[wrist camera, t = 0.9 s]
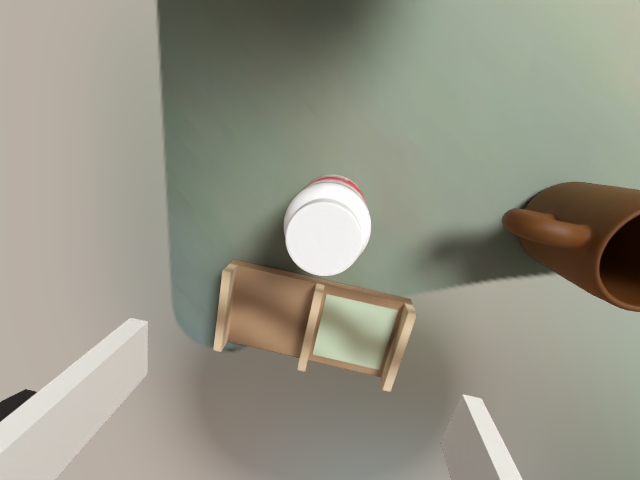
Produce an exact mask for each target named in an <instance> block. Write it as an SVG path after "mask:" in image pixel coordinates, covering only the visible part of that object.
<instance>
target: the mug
mask: <svg viewBox="0 0 640 480" xmlns="http://www.w3.org/2000/svg"><path fill="white" fill-rule="evenodd" d="M502 223H503V226H504V228H505V229H506V230H507V231H509V232H511V233H513V234H515V235H517V236H519V240H520V242H521V245H522V247H523V248H524V250H525V251H526V252H527V253H528V254H529V255H530V256H531V257H532V258H534V259H535V260H536V261H538V262H540V263H541V264H543V265H544V266H546V267H548V268H549V269H551V270H552V271H554V272H556V273H557V274H559V275H560V276H562V277H564V278H565V279H567V280H569V281H570V282H572V283H574V284H576V285H577V286H579V287H580V288H582V289H584V290H585V291H587V292H588V293H590V294H592V295H594V296H596V297H598V298H600V299H603V300H605V301H607V302H608V303H610V304H612V305H615V306H617V307H619V308H622V309H625V310H630V311H635V312H640V190H636V189H629V188H622V187H615V186H607V185H599V184H592V183H585V182H567V183H561V184H557V185H554V186H551V187H549V188H547V189H545V190H543V191H542V192H540V193H539V194H538V195H536V196H535V197H534V198H533V199H532V200H531V201H530V202H529V203H528V205H527V206H526V207H525V209H512V210H509V211H508V212H506V213H505V214H504V216H503V218H502Z"/></svg>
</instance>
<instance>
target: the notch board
mask: <svg viewBox="0 0 640 480" xmlns="http://www.w3.org/2000/svg"><path fill="white" fill-rule="evenodd" d="M416 315H417V314H416V311H415V309H414V307H413V304H412V302H411V299H407V298H403V297H398V296H394V295H390V294H385V293H381V292H376V291H372V290H368V289H363V288H359V287H354V286H350V285H345V284H341V283H337V282H332V281H328V280H323V279H319V278H315V277H310V276H306V275H301V274H297V273H292V272H288V271H284V270H279V269H275V268H270V267H266V266H262V265H257V264H253V263H248V262H244V261H239V260H235V259H234V260H233V261H232V262H231V263H230V264H229V265H228V266H227V267H226V268H225V269H224V270H223V271H222V279H221V288H220V297H219V305H218V314H217V323H216V332H215V340H214V349H213V350H215V351H219V352H221V351H222V349H223V348H224V346H225V345H226V343H227V341H229V342H233V343H237V344H242V345H246V346H250V347H255V348H259V349H263V350H267V351H272V352H276V353H280V354H285V355H289V356H293V357H297V358H300V360H299V365H298V370H300V371H305V370H306V365H307V361H308V360H311V361H314V362H319V363H323V364H327V365H332V366H336V367H340V368H345V369H349V370H353V371H357V372H362V373H366V374H370V375H375V376H379V377H381V381H382V389H383V390H385V391H391V388H392V385H393V382H394V380H395V377H396V374H397V371H398V368H399V365H400V362H401V359H402V356H403V353H404V351H405V348H406V345H407V342H408V339H409V336H410V333H411V330H412V327H413V324H414V321H415V318H416Z"/></svg>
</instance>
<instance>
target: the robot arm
mask: <svg viewBox="0 0 640 480" xmlns="http://www.w3.org/2000/svg"><path fill="white" fill-rule="evenodd" d="M147 352H148V322H146V321H142V320H137V319H133V318H130V319H128V320H127V321H126V322H124V323H123V324H122V325H121V326H119V327H118V328H117V329H116V330H115V331H113V332H112V333H111V334H109V335H108V336H107V337H106V338H105V339H103V340H102V341H101V342H99V343H98V344H97V345H96V346H95V347H93V348H92V349H91V350H89V351H88V352H87V353H86V354H84V355H83V356H82V357H81V358H80V359H78V360H77V361H76V362H74V363H73V364H72V365H71V366H70V367H68V368H67V369H66V370H65V371H63V372H62V373H61V374H60V375H58V376H57V377H56V378H55V379H53V380H52V381H51V382H50V383H48V384H47V385H46V386H45V387H44V388H42V389H41V390H40V391H39V392H35V391H31V390H27V389H25V390H24V391H21V392H19V393H17V394H15V395H13V396H11V397H9V398H7V399H5V400H3V401H1V402H0V480H55V479H56V478H57V477H58V476H59V475H60V474H61V473H62V472H63V470H64V469H65V468H66V467H67V466H68V465H69V464H70V462H71V461H72V460H73V459H74V457H76V455H77V454H78V453H79V452H80V451H81V450H82V448H83V447H84V446H85V445H86V444H87V443H88V442H89V441H90V439H91V438H92V437H93V436H94V435H95V433H97V431H98V430H99V429H100V428H101V427H102V426H103V424H104V423H105V422H106V421H107V420H108V419H109V418H110V416H111V415H112V414H113V413H114V412H115V411H116V409H117V408H118V407H119V406H120V405H121V404H122V403H123V402H124V400H125V399H126V398H127V397H128V396H129V395H130V394H131V392H132V391H133V390H134V389H135V388H136V387H137V385H138V384H139V383H140V382H141V381H142V380H143V379H144V377H145V376H146V375H147V356H148V354H147ZM441 447H442V450H443V453H444V457H445V460H446V463H447V467H448V470H449V474H450V477H451V480H522V478H521V476H520V474H519V472H518V470H517V468H516V466H515V464H514V462H513V460H512V458H511V456H510V454H509V452H508V450H507V448H506V446H505V444H504V442H503V440H502V438H501V436H500V434H499V432H498V430H497V428H496V427H495V424H494V423H493V420H492V419H491V417H490V415H489V413H488V411H487V409H486V407H485V405H484V403H483V401H482V399H481V398H476V397H472V396H468V395H463V394H462V397H461V399H460V401H459V403H458V406H457V408H456V410H455V412H454V414H453V416H452V419H451V421H450V424H449V426H448V428H447V430H446V432H445V434H444V437H443V439H442V441H441Z"/></svg>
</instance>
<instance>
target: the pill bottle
mask: <svg viewBox="0 0 640 480" xmlns="http://www.w3.org/2000/svg"><path fill="white" fill-rule="evenodd" d="M370 233H371V219H370V214H369V211H368V208H367V205H366V202H365V199H364V196H363V194H362V192H361V191H360V189H359V188H358V186H357V185H356V184H355V183H354V182H352V181H351V180H349V179H348V178H346V177H343V176H340V175H325V176H321V177H318V178H316V179H315V180H313V181H312V182H311V183H309V184H308V185H307V186H306V187H305V188H304V189H303V190H302V191H301V192H300V193H299V194H298V195H296V196H295V198H294V199H293V200H292V201H291V203H290V205H289V206H288V208H287V211H286V214H285V218H284V234H285V239H286V246H287V250H288V253H289V255H290V257H291V258H292V260H293V261H294V262H295V263H296V264H297V265H298V266H299V267H300V268H301V269H303V270H304V271H306V272H308V273H311V274H314V275H318V276H331V275H335V274H338V273H341V272H343V271H344V270H346V269H347V268H349V267H350V266H351V265H352V264H353V263H354V262H355V260H356V259H357V257H358V256H359V255H360V254H361V253H362V252H363V250H364V249H365V247H366V245H367V243H368V241H369V238H370Z"/></svg>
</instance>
